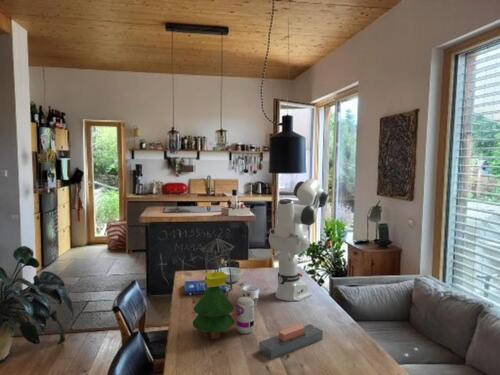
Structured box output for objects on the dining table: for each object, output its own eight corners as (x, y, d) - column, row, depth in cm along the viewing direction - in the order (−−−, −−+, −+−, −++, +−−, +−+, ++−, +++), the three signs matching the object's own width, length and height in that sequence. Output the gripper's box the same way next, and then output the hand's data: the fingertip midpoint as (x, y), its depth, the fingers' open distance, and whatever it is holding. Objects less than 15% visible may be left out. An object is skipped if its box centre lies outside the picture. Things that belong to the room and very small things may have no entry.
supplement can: (241, 335, 170) (241, 304, 168) (233, 328, 177) (234, 297, 176) (256, 331, 173) (257, 301, 172) (248, 324, 181) (249, 295, 179)
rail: (309, 332, 174) (310, 324, 173) (322, 339, 167) (322, 330, 167) (259, 351, 156) (259, 342, 156) (270, 359, 150) (271, 350, 149)
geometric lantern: (221, 304, 205) (220, 242, 202) (199, 299, 213) (198, 239, 210) (237, 295, 218) (236, 237, 215) (216, 290, 227) (214, 234, 224)
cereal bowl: (241, 285, 236) (241, 274, 235) (215, 285, 236) (215, 274, 235) (242, 277, 252) (242, 266, 252) (218, 276, 253) (218, 266, 252)
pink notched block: (299, 339, 167) (299, 324, 166) (304, 342, 164) (304, 327, 163) (278, 347, 160) (278, 331, 159) (283, 350, 157) (284, 334, 156)
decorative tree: (188, 329, 175) (188, 267, 172) (226, 323, 182) (227, 263, 180) (198, 349, 157) (198, 280, 155) (240, 341, 164) (240, 275, 162)
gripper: (304, 234, 177) (303, 263, 178) (277, 228, 194) (276, 253, 195) (294, 236, 174) (293, 265, 175) (267, 229, 190) (267, 255, 191)
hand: (284, 259), depth 185 cm, fingers open, 8 cm apart
